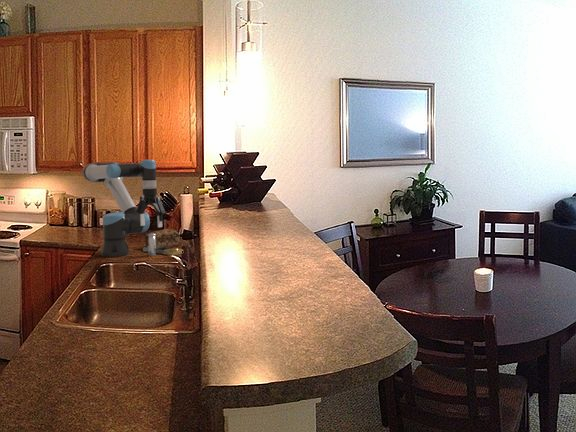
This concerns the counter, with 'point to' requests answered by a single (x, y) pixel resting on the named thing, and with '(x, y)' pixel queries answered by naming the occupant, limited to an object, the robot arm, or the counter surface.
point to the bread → (165, 238)
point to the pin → (152, 244)
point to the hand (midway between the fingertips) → (151, 226)
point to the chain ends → (165, 250)
